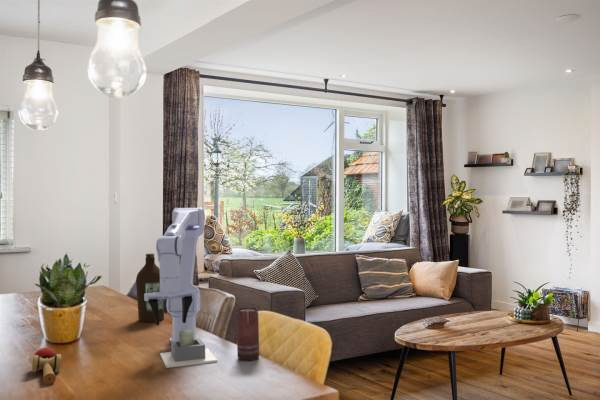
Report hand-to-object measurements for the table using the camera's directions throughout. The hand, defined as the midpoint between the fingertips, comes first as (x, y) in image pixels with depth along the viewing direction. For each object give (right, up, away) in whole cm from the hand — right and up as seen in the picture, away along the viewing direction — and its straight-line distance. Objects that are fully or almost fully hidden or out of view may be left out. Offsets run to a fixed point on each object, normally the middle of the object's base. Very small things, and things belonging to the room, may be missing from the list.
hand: (170, 323), depth 174 cm
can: (+23, -9, -4) cm, 25 cm away
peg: (+5, -9, -3) cm, 11 cm away
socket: (+6, -9, -3) cm, 11 cm away
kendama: (-29, -11, -16) cm, 35 cm away
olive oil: (-19, -10, +52) cm, 56 cm away
